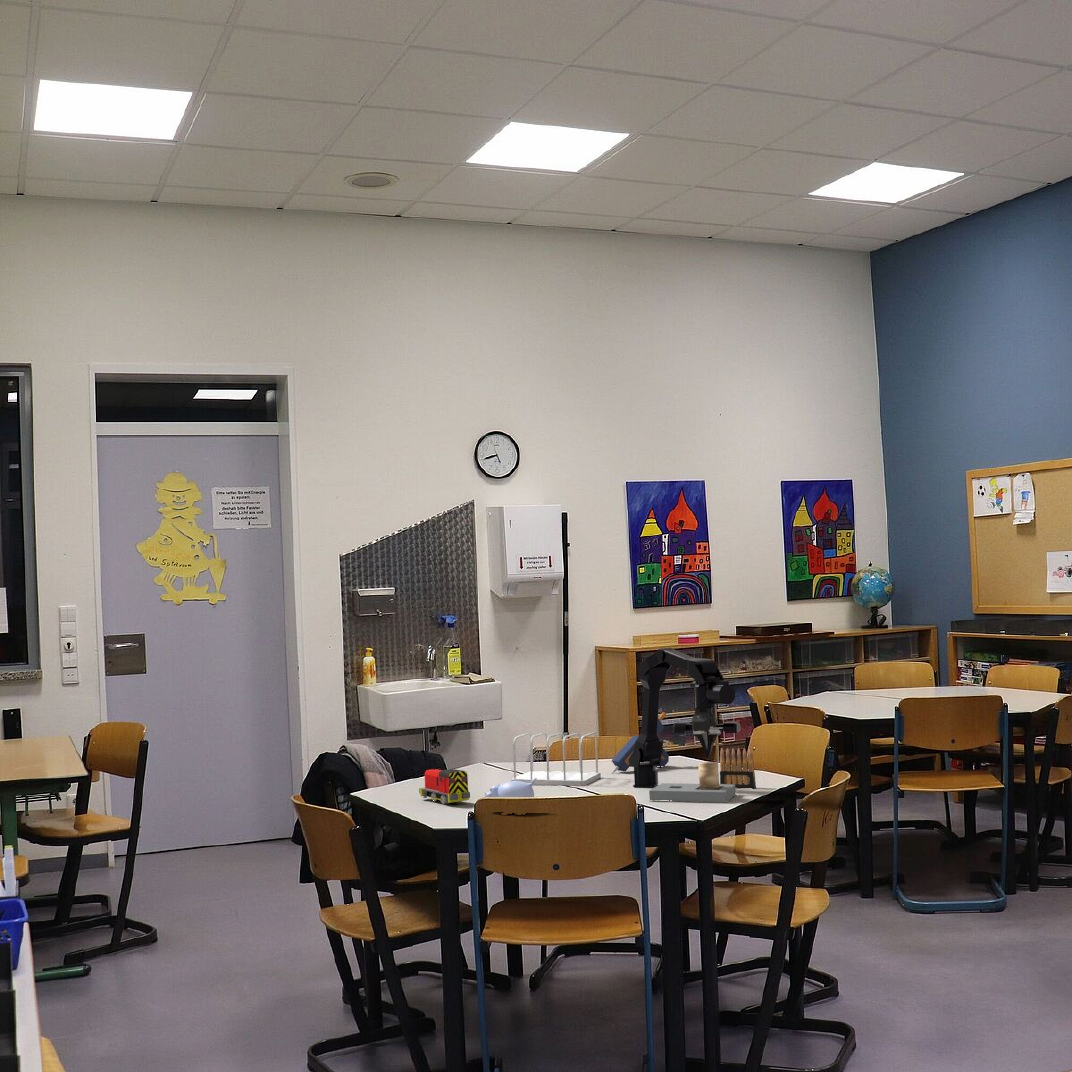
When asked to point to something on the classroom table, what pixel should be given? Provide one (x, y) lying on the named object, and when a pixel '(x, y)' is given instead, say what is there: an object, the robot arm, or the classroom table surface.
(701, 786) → the beech peg
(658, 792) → the two-hole board
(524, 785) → the hippopotamus toy
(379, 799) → the classroom table surface
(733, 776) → the ammunition clip
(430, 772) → the toy train
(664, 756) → the glue gun
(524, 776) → the file sorter
